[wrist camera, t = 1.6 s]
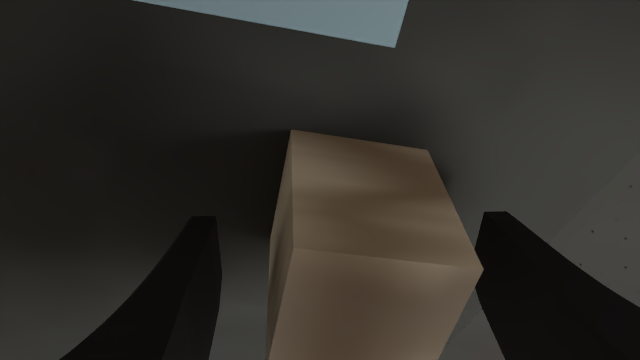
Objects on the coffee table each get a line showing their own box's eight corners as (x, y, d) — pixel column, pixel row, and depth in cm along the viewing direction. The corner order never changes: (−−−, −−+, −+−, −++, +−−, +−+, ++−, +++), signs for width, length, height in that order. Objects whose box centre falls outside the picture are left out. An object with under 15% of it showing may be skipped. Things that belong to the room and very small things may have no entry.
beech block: (427, 149, 15) (483, 269, 10) (389, 252, 17) (424, 386, 13) (291, 128, 14) (293, 248, 10) (270, 238, 16) (264, 374, 12)
